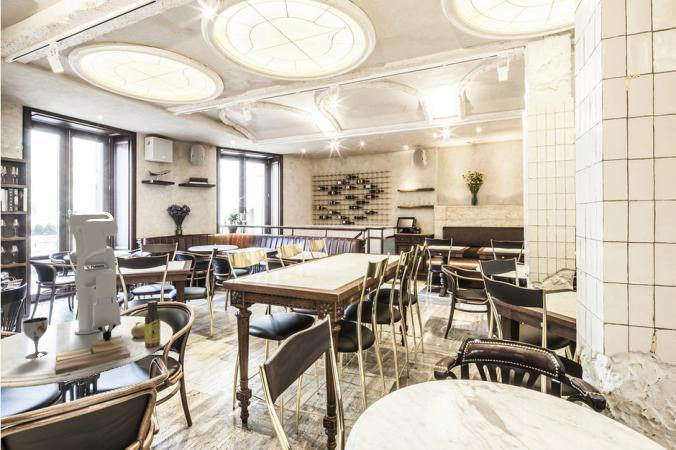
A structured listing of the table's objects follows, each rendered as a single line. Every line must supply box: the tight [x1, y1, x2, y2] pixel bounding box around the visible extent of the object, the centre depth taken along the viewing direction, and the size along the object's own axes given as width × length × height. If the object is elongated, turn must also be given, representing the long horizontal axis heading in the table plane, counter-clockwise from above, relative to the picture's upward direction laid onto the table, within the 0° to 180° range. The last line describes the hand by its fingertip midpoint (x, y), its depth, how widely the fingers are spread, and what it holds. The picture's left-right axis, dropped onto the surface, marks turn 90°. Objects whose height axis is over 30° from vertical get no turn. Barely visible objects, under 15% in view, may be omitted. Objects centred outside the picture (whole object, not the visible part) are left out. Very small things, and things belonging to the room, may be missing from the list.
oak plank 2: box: [91, 335, 126, 354], centre depth 150 cm, size 10×11×1 cm
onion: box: [130, 321, 145, 339], centre depth 165 cm, size 8×8×7 cm
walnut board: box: [54, 346, 131, 375], centre depth 138 cm, size 9×24×1 cm, turn 130°
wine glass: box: [22, 316, 49, 360], centre depth 143 cm, size 8×8×15 cm
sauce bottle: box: [144, 300, 161, 348], centre depth 154 cm, size 6×6×20 cm
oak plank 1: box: [56, 346, 92, 362], centre depth 142 cm, size 10×11×1 cm
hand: (107, 339), depth 153 cm, fingers closed
